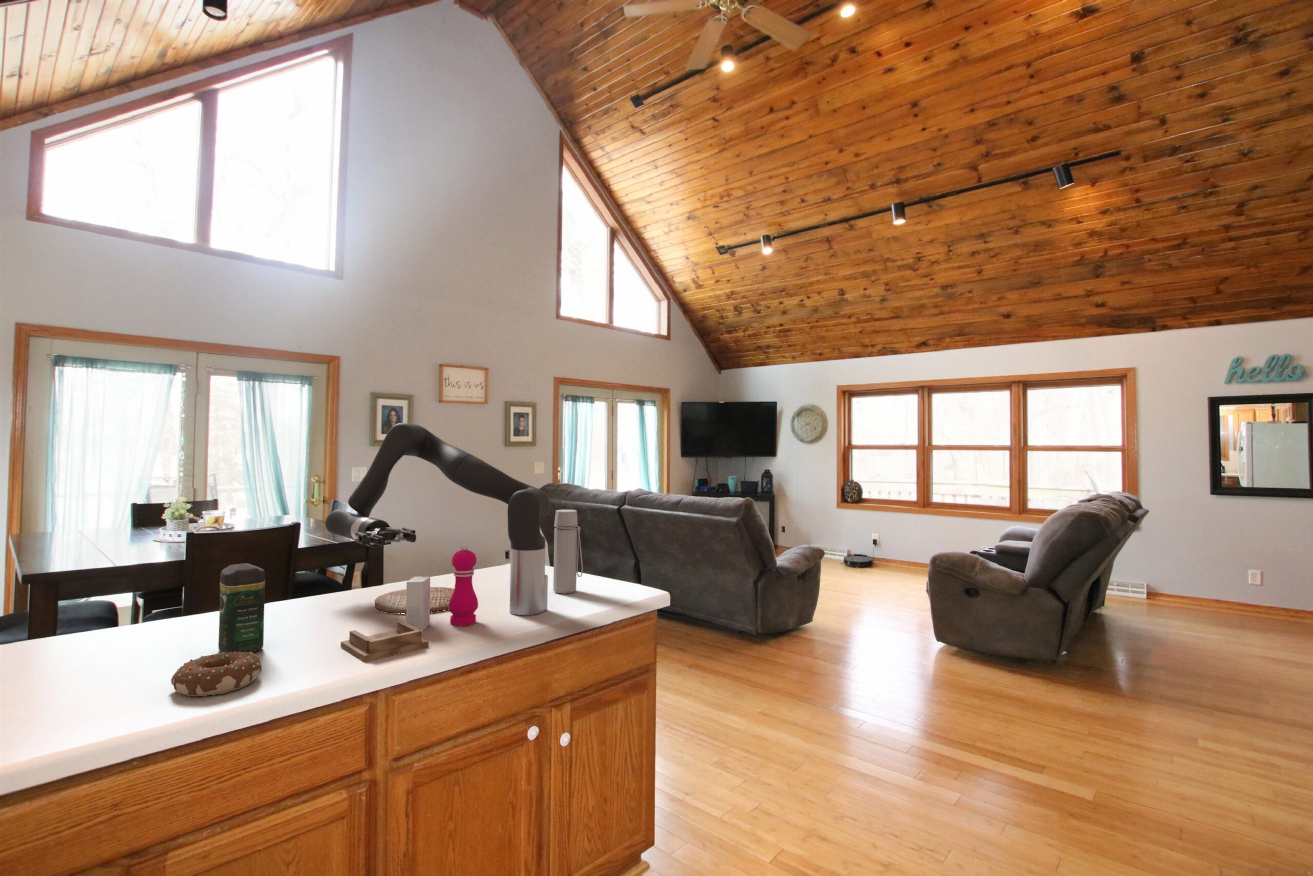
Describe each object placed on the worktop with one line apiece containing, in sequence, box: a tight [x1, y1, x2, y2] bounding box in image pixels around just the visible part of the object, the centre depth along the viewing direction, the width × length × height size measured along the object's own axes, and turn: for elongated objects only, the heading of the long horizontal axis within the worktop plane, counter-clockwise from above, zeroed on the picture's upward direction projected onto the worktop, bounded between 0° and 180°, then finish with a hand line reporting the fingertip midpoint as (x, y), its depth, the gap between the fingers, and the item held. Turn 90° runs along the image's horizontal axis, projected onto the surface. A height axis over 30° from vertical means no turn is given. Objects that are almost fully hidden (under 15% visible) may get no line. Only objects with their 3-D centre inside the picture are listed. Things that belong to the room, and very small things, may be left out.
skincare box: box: [405, 576, 431, 631], centre depth 156 cm, size 6×4×12 cm
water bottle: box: [552, 509, 584, 595], centre depth 195 cm, size 9×8×25 cm
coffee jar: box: [217, 562, 266, 653], centre depth 137 cm, size 10×8×19 cm
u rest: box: [340, 620, 429, 663], centre depth 141 cm, size 14×13×4 cm
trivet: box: [374, 586, 455, 615], centre depth 179 cm, size 25×25×2 cm
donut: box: [170, 651, 263, 697], centre depth 118 cm, size 14×14×5 cm
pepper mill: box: [448, 543, 479, 627], centre depth 160 cm, size 7×7×20 cm
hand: (398, 539), depth 163 cm, fingers open, 8 cm apart
